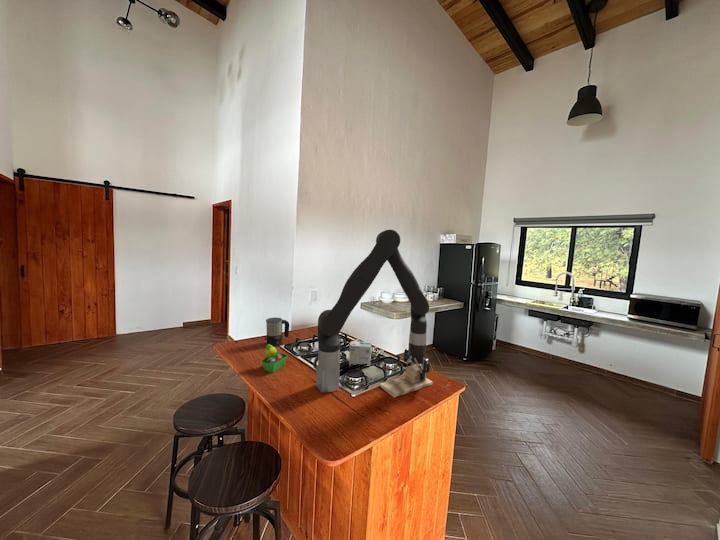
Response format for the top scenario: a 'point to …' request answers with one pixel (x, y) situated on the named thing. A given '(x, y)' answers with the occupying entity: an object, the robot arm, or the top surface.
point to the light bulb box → (360, 353)
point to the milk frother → (276, 331)
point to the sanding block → (413, 374)
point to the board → (403, 386)
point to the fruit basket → (273, 359)
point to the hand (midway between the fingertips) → (415, 376)
